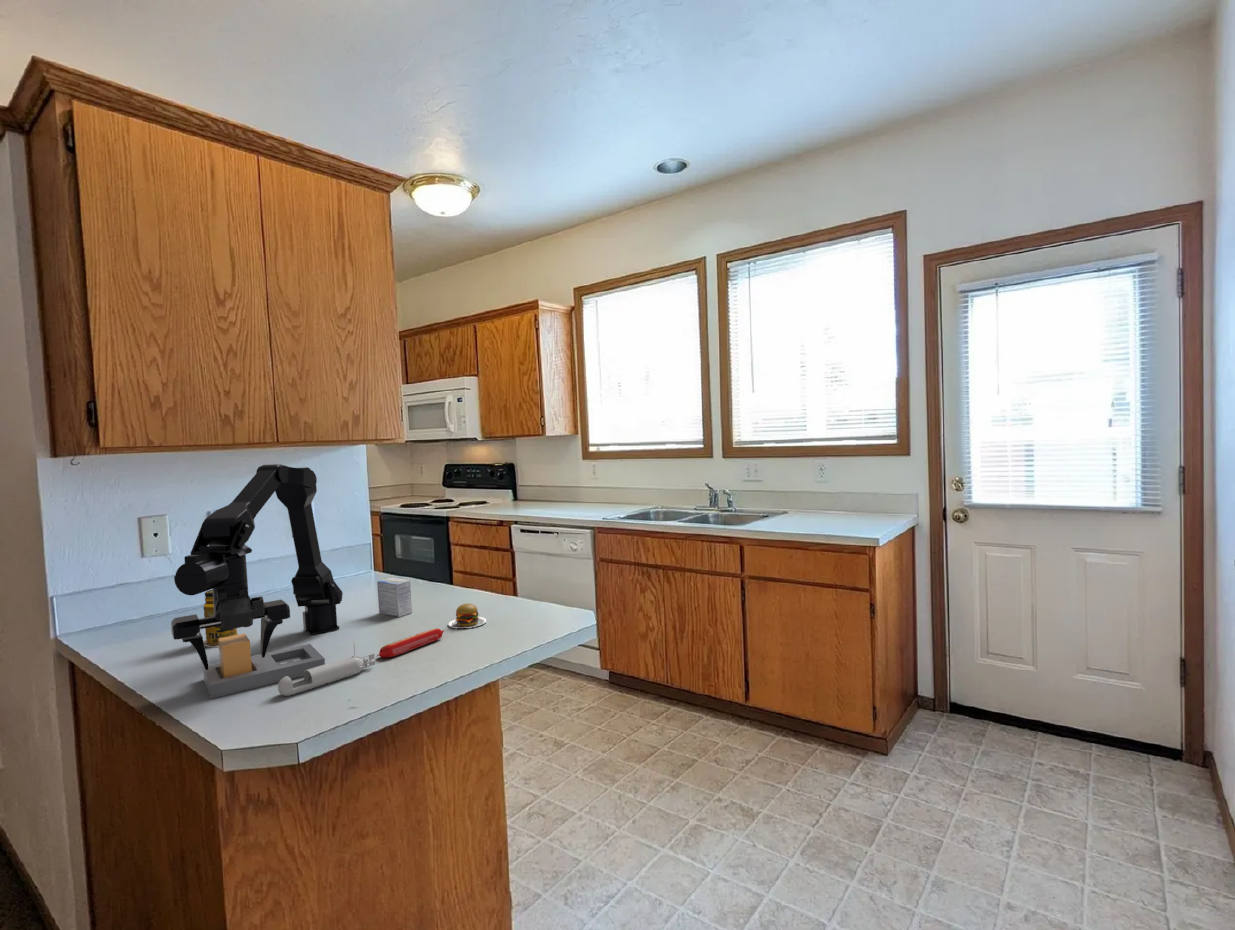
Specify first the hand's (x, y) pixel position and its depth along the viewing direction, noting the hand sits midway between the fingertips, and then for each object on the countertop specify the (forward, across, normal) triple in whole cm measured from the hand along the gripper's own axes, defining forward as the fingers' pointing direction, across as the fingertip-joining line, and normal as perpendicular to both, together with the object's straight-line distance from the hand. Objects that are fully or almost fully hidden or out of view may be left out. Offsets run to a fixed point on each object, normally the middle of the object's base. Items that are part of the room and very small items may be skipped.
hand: (235, 663), depth 121 cm
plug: (+3, 0, +1) cm, 3 cm away
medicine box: (+4, +39, +25) cm, 46 cm away
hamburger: (+4, +48, +3) cm, 49 cm away
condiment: (+4, +1, +32) cm, 32 cm away
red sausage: (+4, +32, -5) cm, 33 cm away
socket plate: (+4, +5, 0) cm, 6 cm away
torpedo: (+4, +14, -12) cm, 19 cm away
